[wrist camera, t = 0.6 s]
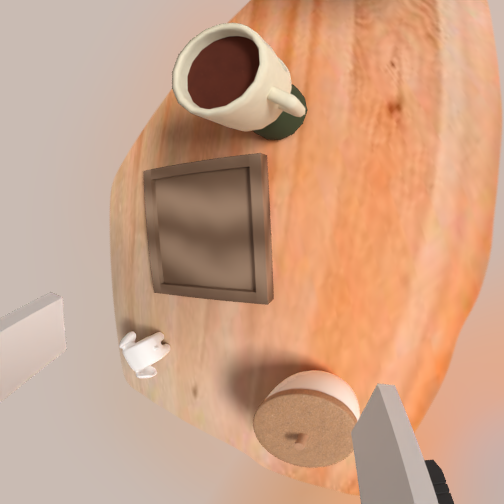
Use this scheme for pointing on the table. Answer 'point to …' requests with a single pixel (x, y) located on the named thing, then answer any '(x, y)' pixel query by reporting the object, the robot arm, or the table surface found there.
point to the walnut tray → (211, 229)
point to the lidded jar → (308, 419)
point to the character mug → (238, 82)
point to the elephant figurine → (143, 353)
